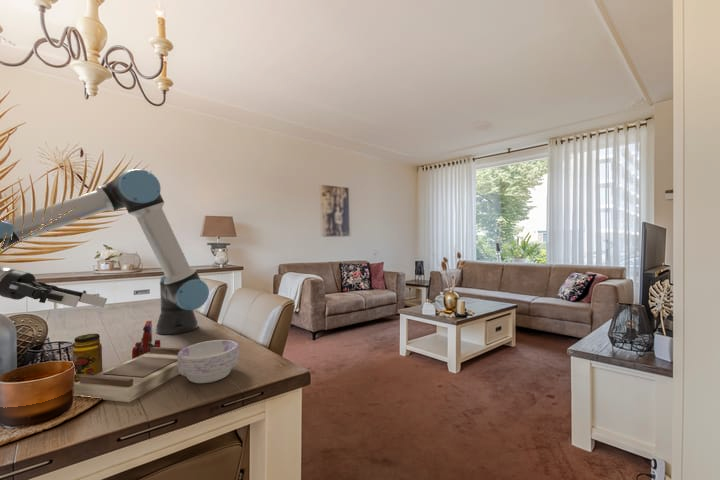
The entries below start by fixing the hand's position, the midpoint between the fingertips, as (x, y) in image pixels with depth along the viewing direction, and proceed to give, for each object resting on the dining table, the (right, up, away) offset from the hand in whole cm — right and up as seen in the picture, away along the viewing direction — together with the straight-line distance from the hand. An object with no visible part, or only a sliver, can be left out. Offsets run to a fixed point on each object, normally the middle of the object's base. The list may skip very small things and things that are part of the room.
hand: (92, 302), depth 95 cm
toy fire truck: (+7, -20, +13) cm, 25 cm away
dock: (+17, -20, -4) cm, 26 cm away
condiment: (+2, -20, -4) cm, 21 cm away
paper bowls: (+34, -20, -3) cm, 40 cm away
